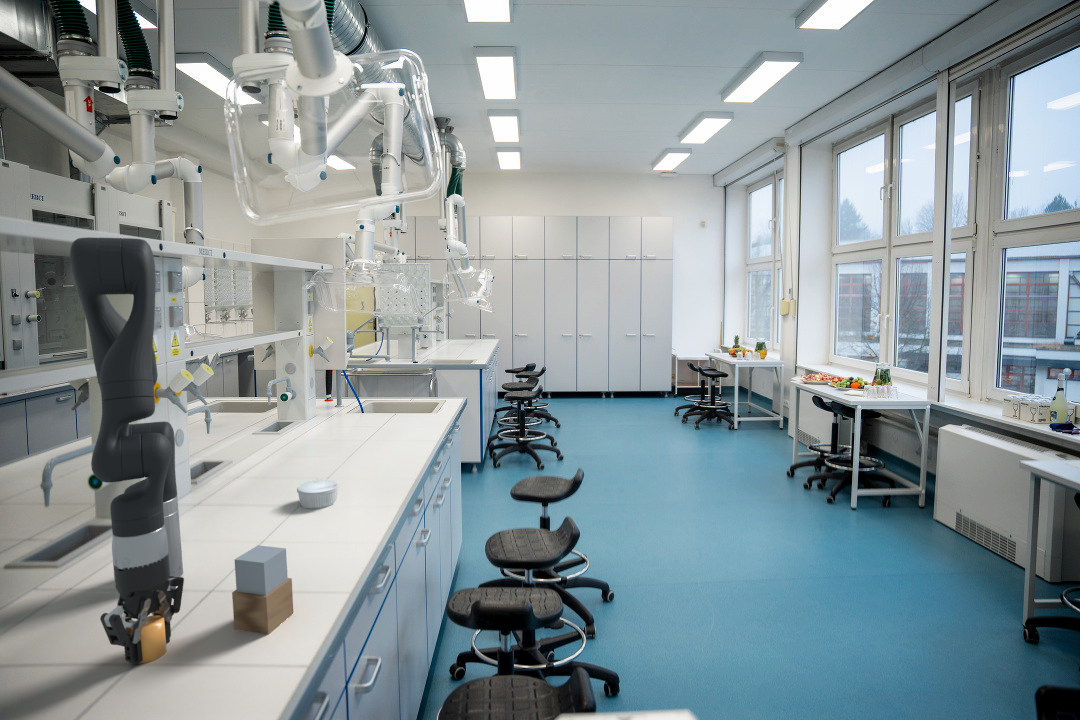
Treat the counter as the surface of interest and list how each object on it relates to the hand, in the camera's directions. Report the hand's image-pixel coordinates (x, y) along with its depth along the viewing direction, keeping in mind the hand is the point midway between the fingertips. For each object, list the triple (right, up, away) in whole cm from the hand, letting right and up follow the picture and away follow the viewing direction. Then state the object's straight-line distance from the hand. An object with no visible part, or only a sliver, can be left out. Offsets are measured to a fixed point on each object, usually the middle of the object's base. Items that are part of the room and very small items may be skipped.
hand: (149, 652), depth 99 cm
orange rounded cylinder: (0, 0, 0) cm, 0 cm away
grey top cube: (+15, +8, +9) cm, 19 cm away
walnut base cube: (+15, +1, +10) cm, 18 cm away
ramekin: (+2, +8, +70) cm, 70 cm away
